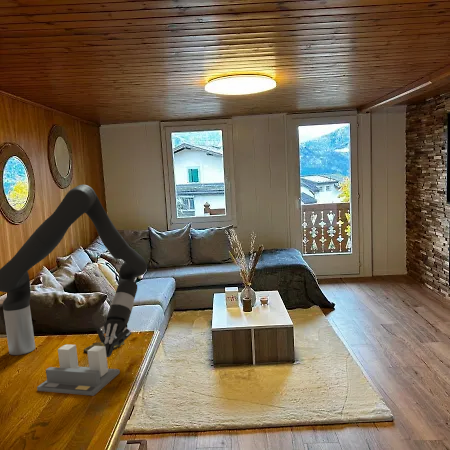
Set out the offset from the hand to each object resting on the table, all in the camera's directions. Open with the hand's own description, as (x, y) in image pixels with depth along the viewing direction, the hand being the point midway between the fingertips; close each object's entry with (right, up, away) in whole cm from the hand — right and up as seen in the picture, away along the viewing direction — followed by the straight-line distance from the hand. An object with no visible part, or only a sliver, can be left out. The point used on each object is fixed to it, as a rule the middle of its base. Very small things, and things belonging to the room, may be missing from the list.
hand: (105, 356), depth 148 cm
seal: (-6, -4, +22) cm, 23 cm away
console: (-7, -7, -4) cm, 10 cm away
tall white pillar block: (-1, -4, -4) cm, 6 cm away
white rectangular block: (-12, -5, -1) cm, 13 cm away
